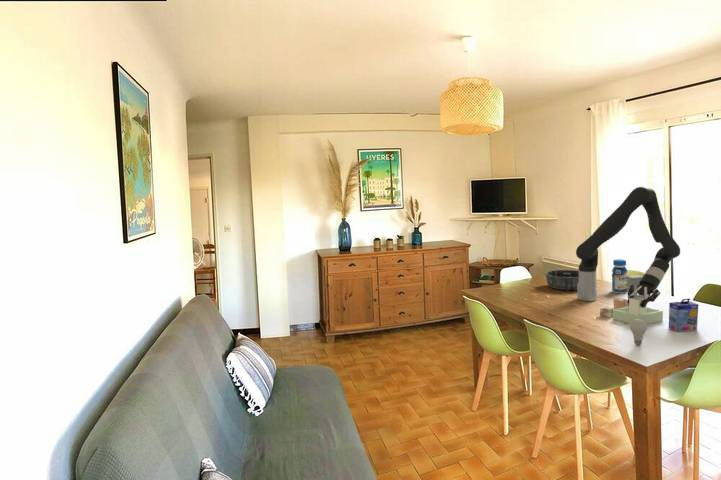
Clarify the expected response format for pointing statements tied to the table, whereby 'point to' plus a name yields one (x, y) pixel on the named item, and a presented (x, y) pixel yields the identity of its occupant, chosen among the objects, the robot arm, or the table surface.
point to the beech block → (606, 312)
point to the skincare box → (634, 283)
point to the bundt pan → (563, 279)
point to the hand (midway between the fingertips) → (635, 305)
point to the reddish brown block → (620, 303)
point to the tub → (648, 318)
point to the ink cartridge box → (683, 316)
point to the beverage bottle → (619, 276)
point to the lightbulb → (638, 330)
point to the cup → (636, 306)
